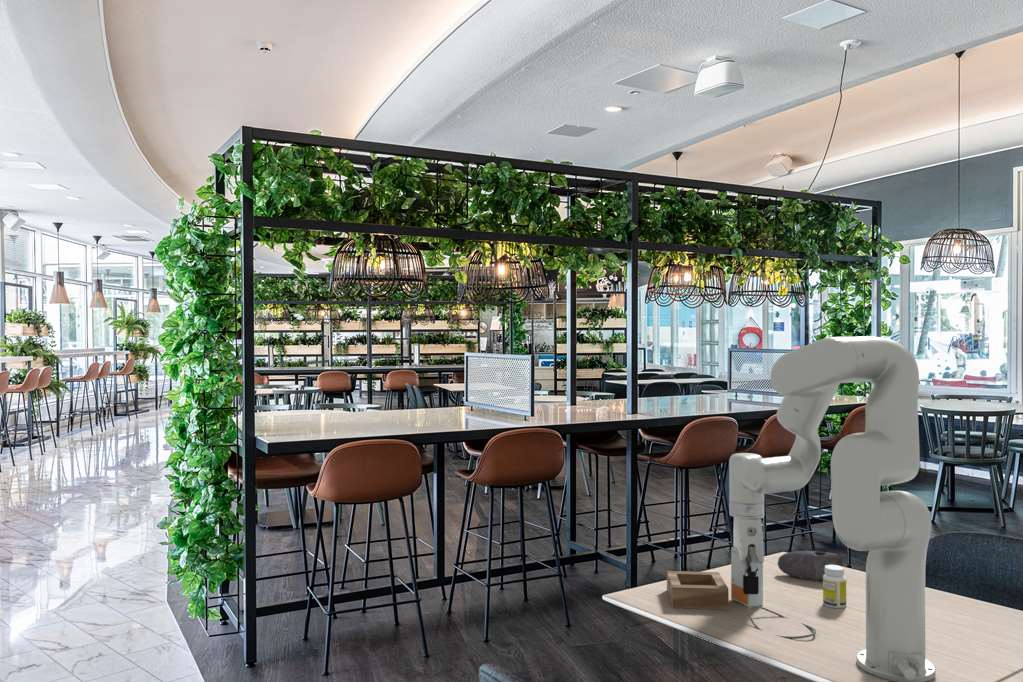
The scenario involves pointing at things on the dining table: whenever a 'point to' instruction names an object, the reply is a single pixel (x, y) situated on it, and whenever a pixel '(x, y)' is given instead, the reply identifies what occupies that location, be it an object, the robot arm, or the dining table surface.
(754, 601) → the skincare box
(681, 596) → the holder
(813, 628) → the loop
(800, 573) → the perforated stone tool
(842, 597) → the supplement bottle
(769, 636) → the dining table surface
